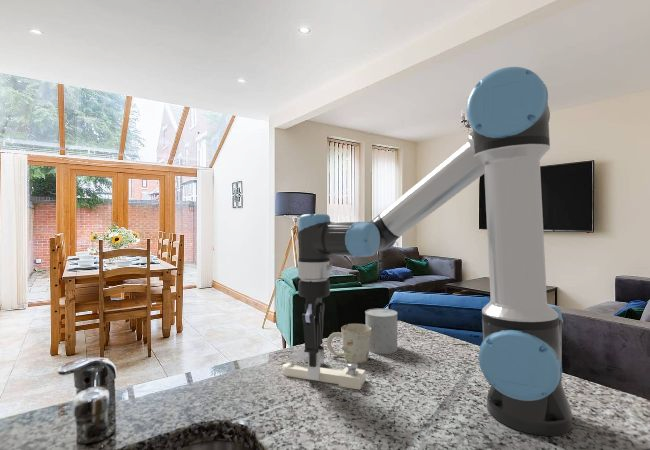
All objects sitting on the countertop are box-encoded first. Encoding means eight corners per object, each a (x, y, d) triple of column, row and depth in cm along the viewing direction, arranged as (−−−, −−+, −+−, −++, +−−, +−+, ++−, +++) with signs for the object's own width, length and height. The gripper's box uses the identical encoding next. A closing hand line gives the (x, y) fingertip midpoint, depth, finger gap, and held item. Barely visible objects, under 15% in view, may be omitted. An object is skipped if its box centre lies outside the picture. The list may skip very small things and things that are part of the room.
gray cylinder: (400, 359, 104) (400, 316, 104) (367, 359, 104) (366, 316, 104) (394, 347, 114) (394, 308, 114) (363, 347, 114) (363, 308, 114)
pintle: (359, 383, 86) (359, 363, 86) (354, 388, 84) (354, 367, 84) (350, 381, 88) (350, 361, 88) (344, 385, 85) (344, 364, 85)
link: (365, 380, 87) (365, 370, 87) (359, 389, 83) (359, 378, 82) (287, 368, 94) (287, 359, 94) (278, 376, 90) (278, 366, 90)
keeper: (323, 368, 98) (323, 348, 98) (304, 380, 91) (303, 358, 91) (309, 364, 101) (309, 345, 101) (288, 375, 94) (288, 354, 94)
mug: (370, 371, 96) (370, 333, 96) (323, 367, 99) (323, 330, 99) (372, 359, 104) (372, 324, 104) (329, 356, 107) (329, 322, 107)
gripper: (323, 283, 80) (323, 392, 79) (334, 275, 92) (334, 369, 92) (290, 282, 81) (290, 388, 81) (306, 275, 94) (305, 367, 94)
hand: (314, 378), depth 87 cm, fingers closed
